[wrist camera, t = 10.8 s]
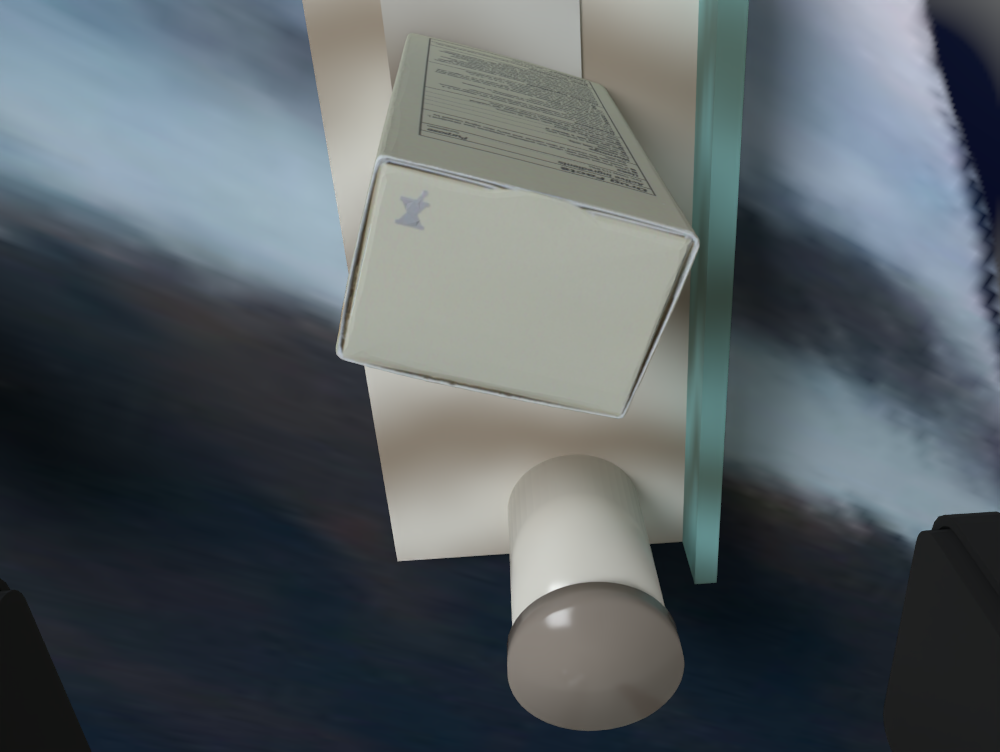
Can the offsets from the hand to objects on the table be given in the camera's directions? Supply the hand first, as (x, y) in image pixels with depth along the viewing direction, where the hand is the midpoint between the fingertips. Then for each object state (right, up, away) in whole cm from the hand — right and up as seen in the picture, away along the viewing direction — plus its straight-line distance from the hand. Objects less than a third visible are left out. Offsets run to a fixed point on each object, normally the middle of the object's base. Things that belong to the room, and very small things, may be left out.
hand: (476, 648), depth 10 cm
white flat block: (+1, +6, +22) cm, 23 cm away
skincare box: (0, +10, +18) cm, 21 cm away
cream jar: (+3, -2, +25) cm, 26 cm away
